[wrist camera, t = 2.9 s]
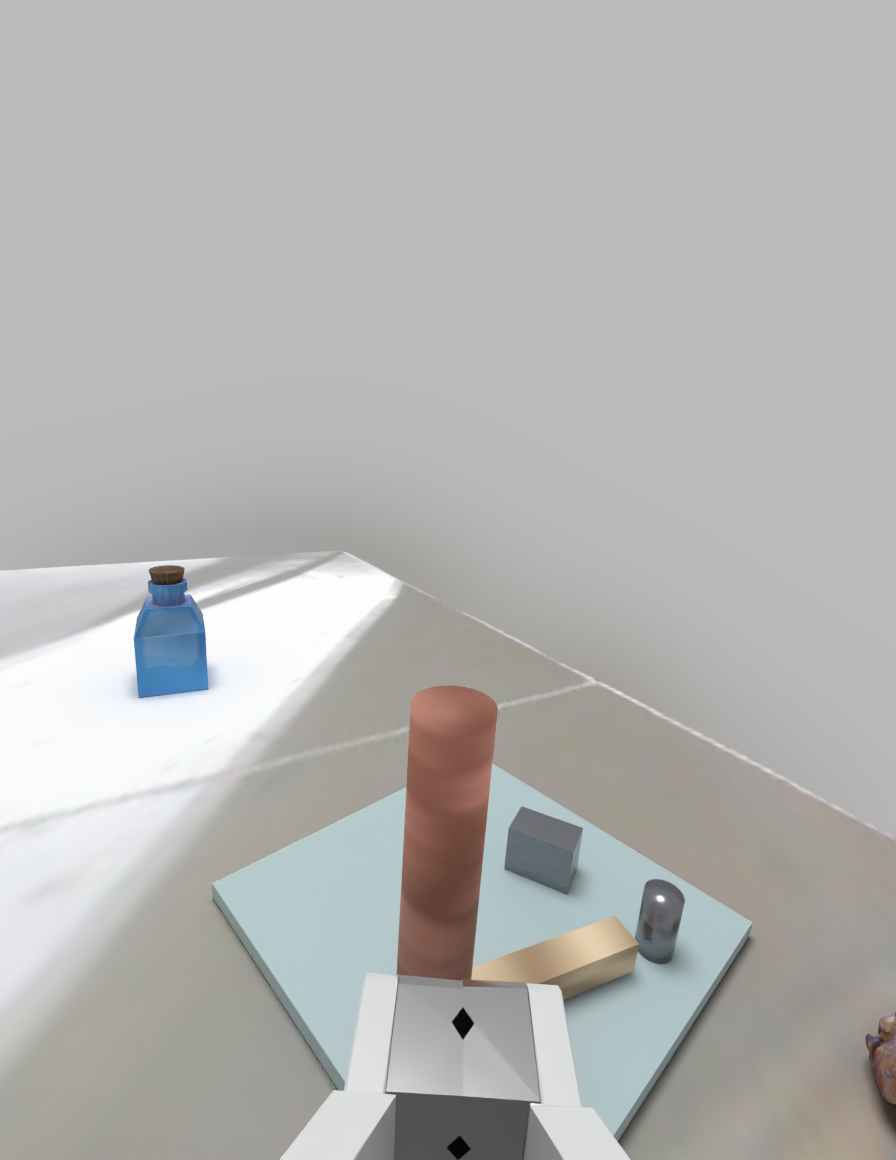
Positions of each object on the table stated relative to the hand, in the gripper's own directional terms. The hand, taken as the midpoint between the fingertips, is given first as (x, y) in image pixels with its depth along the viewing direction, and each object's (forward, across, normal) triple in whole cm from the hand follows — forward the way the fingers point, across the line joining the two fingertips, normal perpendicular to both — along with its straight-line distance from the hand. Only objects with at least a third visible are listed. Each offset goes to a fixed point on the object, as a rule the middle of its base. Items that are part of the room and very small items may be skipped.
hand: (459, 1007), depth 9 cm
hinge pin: (+18, -11, +18) cm, 28 cm away
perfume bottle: (+47, +29, +18) cm, 58 cm away
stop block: (+23, -6, +18) cm, 30 cm away
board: (+20, -2, +18) cm, 27 cm away
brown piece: (+14, -4, +17) cm, 23 cm away
